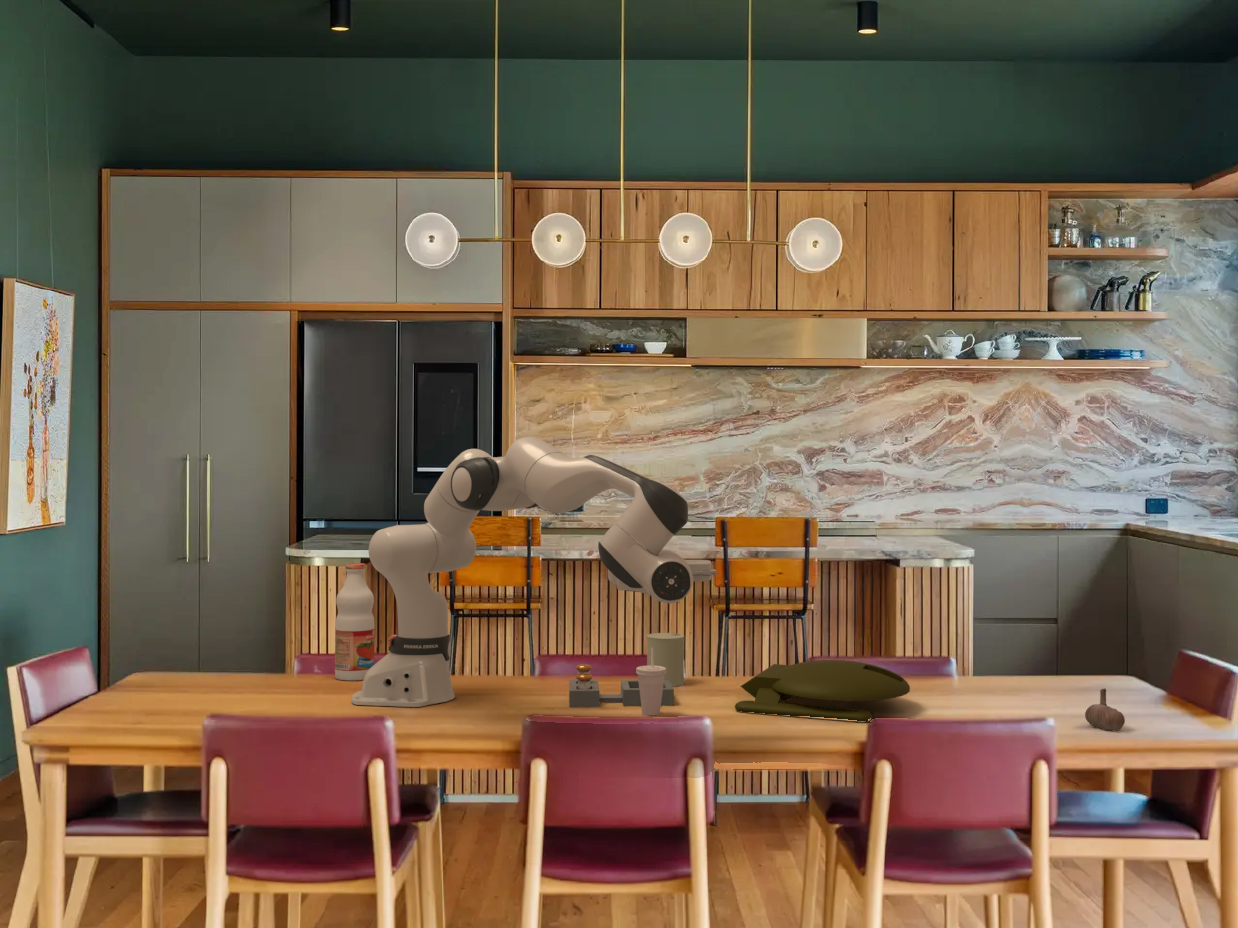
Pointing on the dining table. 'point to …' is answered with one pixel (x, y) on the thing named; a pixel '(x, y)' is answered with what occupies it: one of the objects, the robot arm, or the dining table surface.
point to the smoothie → (651, 686)
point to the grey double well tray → (627, 696)
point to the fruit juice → (354, 626)
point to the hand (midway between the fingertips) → (657, 566)
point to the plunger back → (583, 668)
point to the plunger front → (584, 681)
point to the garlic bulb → (1104, 715)
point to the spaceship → (821, 688)
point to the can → (668, 655)
